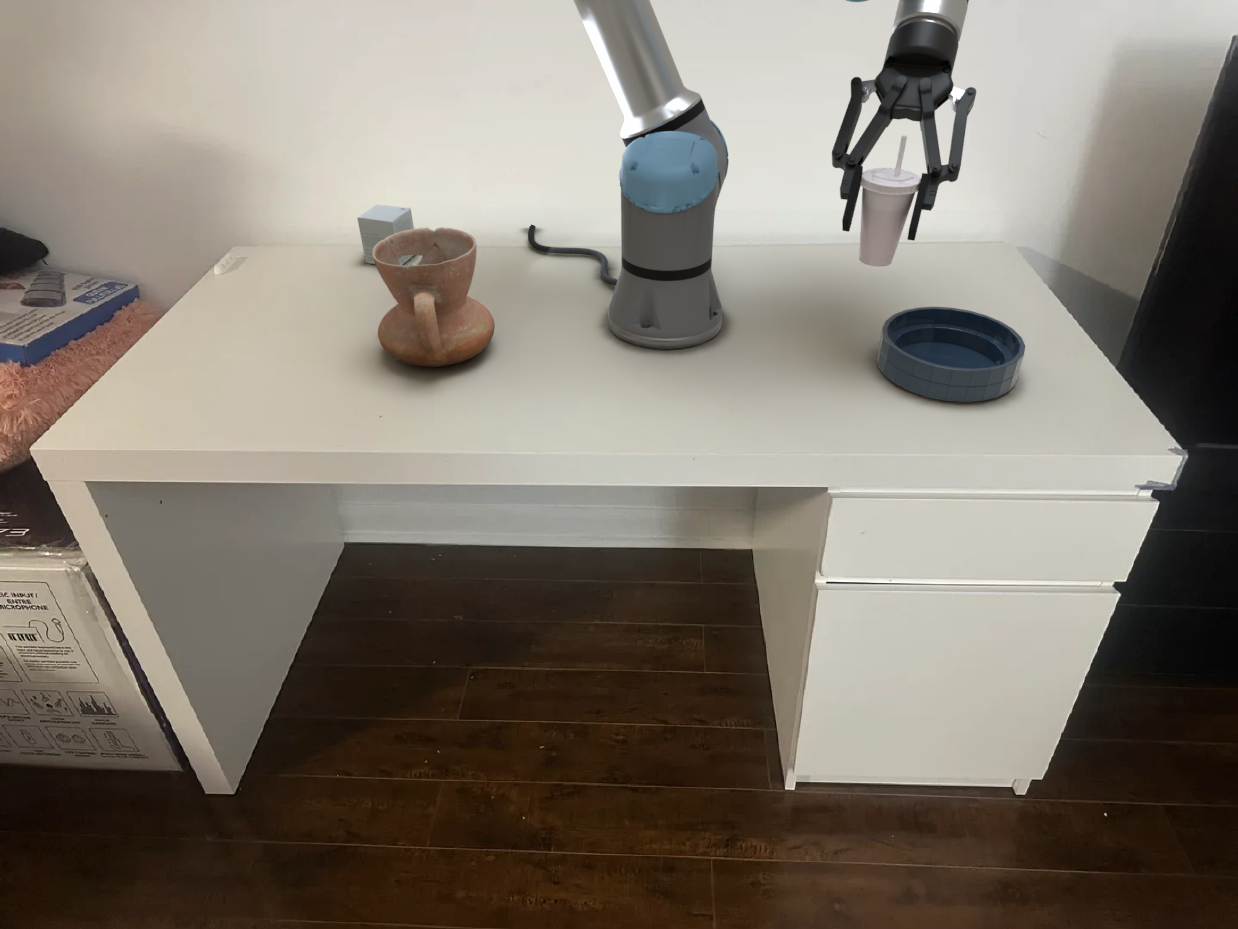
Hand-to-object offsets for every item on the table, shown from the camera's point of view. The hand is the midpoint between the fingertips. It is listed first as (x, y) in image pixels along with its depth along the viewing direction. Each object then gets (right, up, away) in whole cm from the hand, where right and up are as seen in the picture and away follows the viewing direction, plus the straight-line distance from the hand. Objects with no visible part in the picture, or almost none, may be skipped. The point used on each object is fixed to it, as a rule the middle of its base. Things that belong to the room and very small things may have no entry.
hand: (878, 229), depth 95 cm
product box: (-64, +6, +41) cm, 76 cm away
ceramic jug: (-51, -12, +16) cm, 55 cm away
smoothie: (+1, -2, +6) cm, 6 cm away
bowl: (+11, -14, +11) cm, 21 cm away
